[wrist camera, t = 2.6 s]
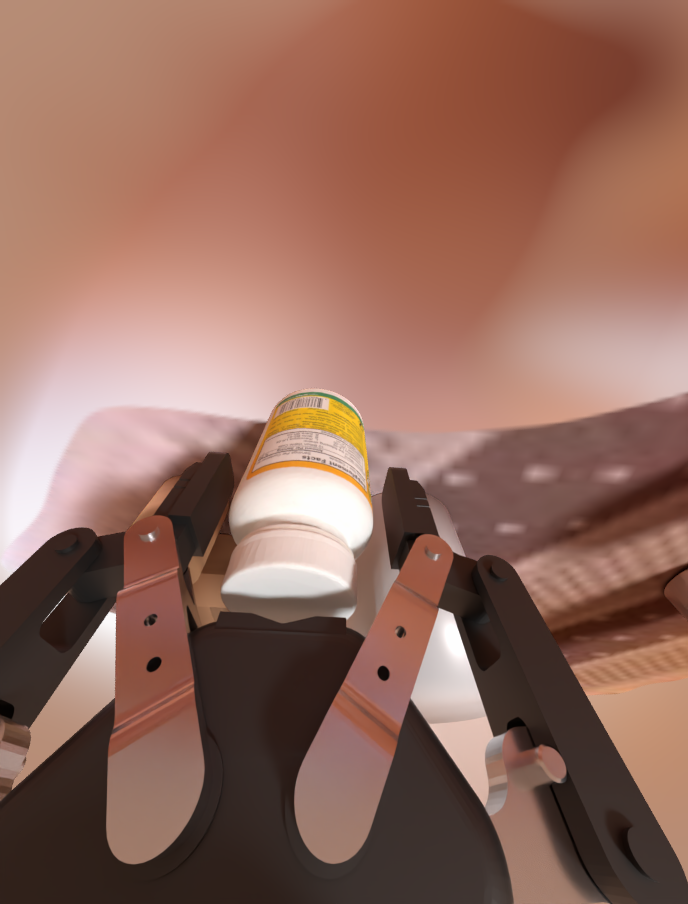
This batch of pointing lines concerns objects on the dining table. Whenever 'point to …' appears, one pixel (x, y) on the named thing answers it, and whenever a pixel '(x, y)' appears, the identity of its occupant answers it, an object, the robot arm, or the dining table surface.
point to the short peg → (153, 505)
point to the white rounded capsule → (445, 661)
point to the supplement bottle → (301, 512)
